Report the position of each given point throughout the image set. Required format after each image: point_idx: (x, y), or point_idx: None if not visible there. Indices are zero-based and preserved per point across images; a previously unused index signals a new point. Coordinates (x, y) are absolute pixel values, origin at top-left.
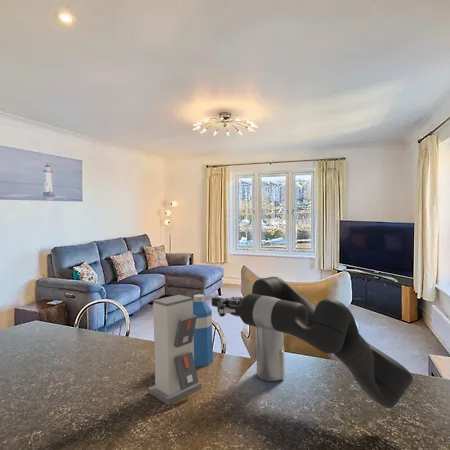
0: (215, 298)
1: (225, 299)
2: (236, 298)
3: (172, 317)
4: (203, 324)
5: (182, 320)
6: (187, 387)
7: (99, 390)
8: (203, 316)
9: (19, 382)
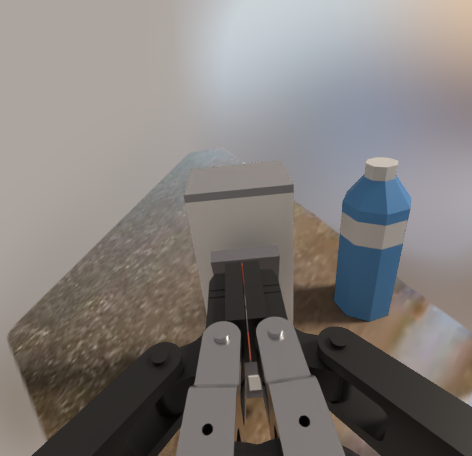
0: (226, 279)
1: (256, 334)
2: (297, 442)
3: (212, 234)
4: (372, 240)
5: (215, 261)
6: (246, 397)
7: (165, 289)
8: (376, 222)
9: (123, 231)
